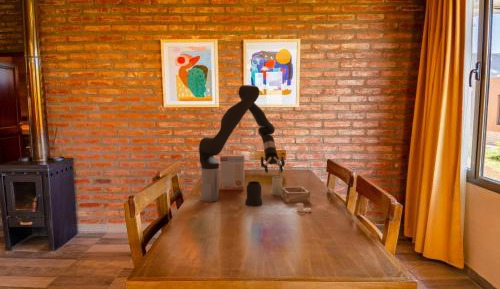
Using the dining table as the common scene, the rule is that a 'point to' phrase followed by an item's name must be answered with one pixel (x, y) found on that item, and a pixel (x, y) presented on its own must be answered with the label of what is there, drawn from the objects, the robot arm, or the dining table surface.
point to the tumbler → (276, 185)
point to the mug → (253, 194)
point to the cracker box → (232, 172)
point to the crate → (295, 195)
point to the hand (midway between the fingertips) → (274, 172)
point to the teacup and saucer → (301, 208)
